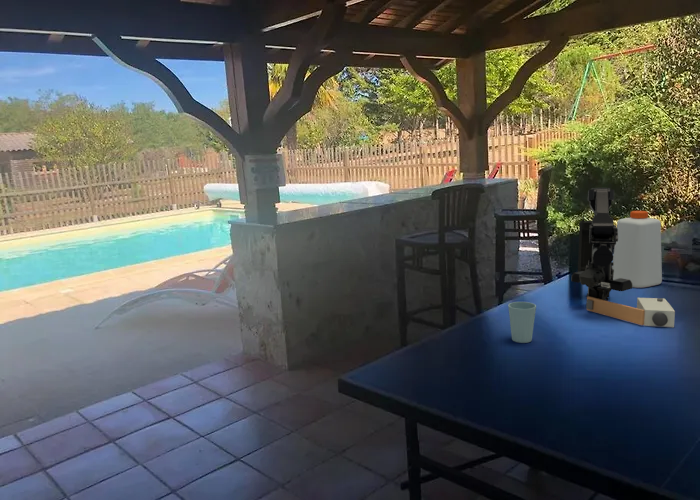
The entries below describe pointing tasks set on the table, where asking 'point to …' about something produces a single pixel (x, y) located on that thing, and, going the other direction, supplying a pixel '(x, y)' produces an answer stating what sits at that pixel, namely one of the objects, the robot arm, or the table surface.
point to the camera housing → (656, 312)
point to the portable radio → (584, 245)
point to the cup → (522, 321)
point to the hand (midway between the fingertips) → (600, 306)
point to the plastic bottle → (638, 250)
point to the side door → (615, 310)
